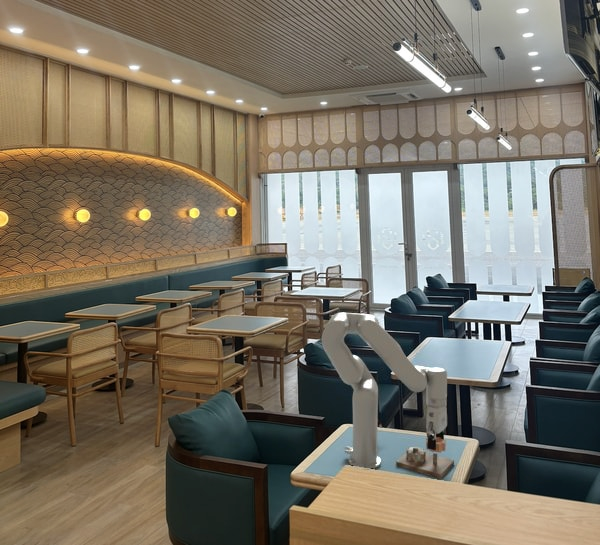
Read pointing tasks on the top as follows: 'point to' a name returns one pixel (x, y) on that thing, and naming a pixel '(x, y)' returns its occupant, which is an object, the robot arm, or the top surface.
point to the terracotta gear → (438, 445)
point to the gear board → (425, 462)
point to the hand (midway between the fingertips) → (435, 445)
